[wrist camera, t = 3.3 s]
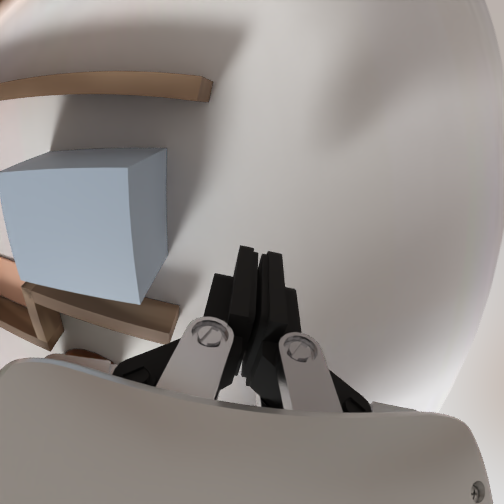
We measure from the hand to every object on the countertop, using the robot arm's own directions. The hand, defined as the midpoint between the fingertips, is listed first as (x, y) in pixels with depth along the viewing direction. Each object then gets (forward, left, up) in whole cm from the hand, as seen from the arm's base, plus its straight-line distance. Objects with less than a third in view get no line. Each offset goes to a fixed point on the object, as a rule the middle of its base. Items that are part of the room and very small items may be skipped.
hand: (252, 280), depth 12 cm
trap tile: (-11, +22, -6) cm, 25 cm away
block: (-1, +10, -7) cm, 12 cm away
